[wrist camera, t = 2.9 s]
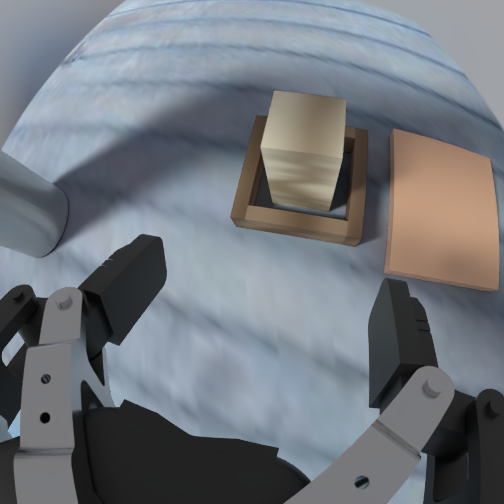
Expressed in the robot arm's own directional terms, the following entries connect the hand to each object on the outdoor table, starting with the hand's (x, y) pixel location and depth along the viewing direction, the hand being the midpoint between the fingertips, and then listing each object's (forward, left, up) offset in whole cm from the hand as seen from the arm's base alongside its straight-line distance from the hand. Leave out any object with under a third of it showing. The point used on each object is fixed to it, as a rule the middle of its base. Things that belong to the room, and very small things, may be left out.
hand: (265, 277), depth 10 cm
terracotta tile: (+14, +11, -14) cm, 23 cm away
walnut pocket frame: (0, +11, -14) cm, 18 cm away
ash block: (0, +11, -14) cm, 18 cm away
